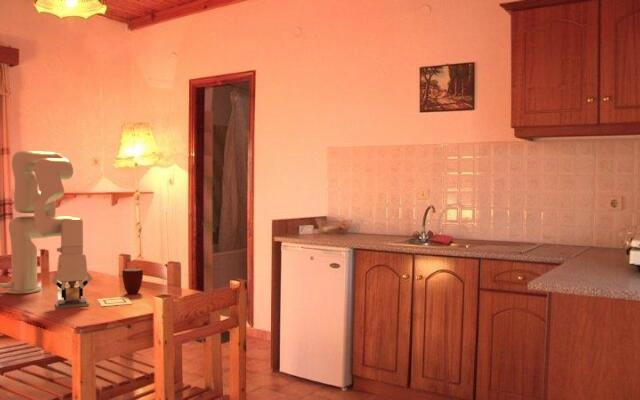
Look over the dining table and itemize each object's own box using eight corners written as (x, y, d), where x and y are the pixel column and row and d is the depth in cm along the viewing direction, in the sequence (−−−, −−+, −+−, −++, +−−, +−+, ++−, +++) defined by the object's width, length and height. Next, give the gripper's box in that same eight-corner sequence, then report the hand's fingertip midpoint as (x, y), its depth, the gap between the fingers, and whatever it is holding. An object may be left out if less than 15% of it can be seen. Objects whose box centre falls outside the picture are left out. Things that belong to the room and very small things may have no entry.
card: (101, 306, 208) (101, 305, 208) (97, 299, 221) (97, 298, 221) (132, 304, 214) (132, 303, 214) (126, 297, 226) (126, 296, 226)
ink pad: (56, 308, 205) (56, 304, 205) (55, 303, 213) (55, 300, 213) (89, 305, 210) (89, 301, 210) (86, 301, 218) (86, 297, 218)
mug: (119, 291, 238) (119, 268, 238) (138, 290, 242) (138, 267, 242) (125, 296, 229) (125, 271, 229) (145, 294, 233) (145, 270, 233)
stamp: (66, 302, 208) (65, 279, 208) (65, 300, 212) (65, 277, 212) (79, 301, 210) (79, 278, 210) (78, 299, 214) (78, 276, 214)
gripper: (47, 252, 203) (47, 302, 204) (97, 250, 211) (97, 299, 212) (46, 250, 210) (46, 299, 210) (95, 248, 218) (95, 295, 218)
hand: (72, 298), depth 211 cm, fingers closed on stamp, 4 cm apart
